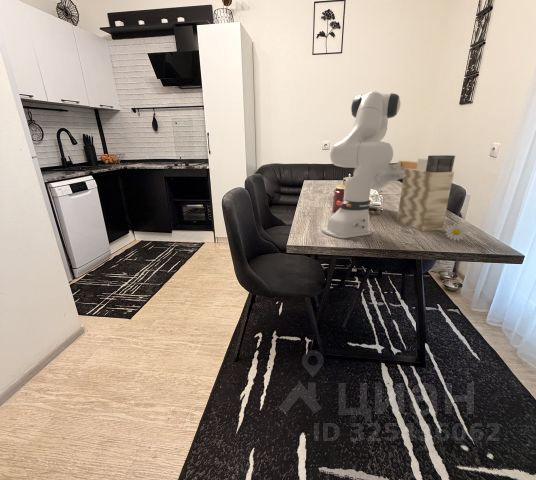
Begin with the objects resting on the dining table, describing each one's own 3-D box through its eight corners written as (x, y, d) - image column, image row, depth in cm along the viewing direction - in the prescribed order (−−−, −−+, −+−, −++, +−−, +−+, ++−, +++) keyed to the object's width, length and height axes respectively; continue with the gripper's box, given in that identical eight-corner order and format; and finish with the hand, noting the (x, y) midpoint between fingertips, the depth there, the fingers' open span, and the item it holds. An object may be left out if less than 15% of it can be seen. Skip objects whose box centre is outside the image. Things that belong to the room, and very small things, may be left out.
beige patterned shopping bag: (397, 220, 145) (406, 154, 134) (414, 219, 146) (425, 153, 136) (423, 231, 127) (436, 156, 116) (442, 229, 129) (457, 155, 118)
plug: (395, 166, 146) (396, 156, 144) (405, 166, 147) (407, 156, 145) (429, 171, 124) (431, 159, 122) (440, 170, 125) (442, 159, 123)
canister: (350, 208, 171) (352, 179, 165) (358, 214, 158) (361, 182, 153) (329, 209, 170) (331, 180, 164) (335, 214, 158) (337, 183, 152)
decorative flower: (435, 215, 125) (468, 224, 112) (441, 223, 128) (474, 233, 115) (424, 229, 125) (456, 239, 112) (430, 237, 128) (461, 247, 115)
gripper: (371, 169, 155) (385, 158, 141) (404, 168, 159) (421, 156, 145) (373, 180, 154) (387, 169, 140) (406, 178, 157) (423, 168, 144)
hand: (405, 163), depth 143 cm, fingers closed on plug, 3 cm apart
